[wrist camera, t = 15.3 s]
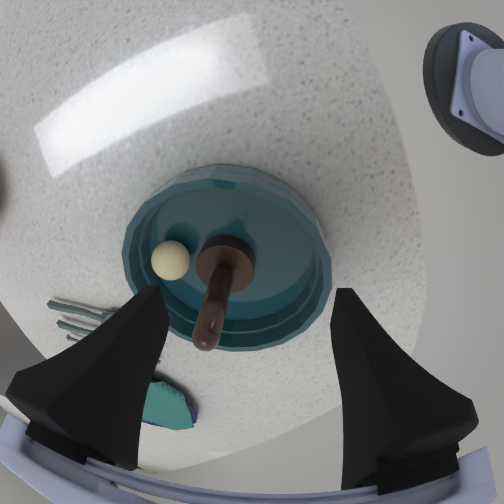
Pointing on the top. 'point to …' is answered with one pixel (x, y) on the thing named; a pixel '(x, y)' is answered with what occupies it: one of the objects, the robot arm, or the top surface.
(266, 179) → the bowl
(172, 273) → the dough ball
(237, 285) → the wooden pestle
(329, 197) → the top surface
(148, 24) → the top surface
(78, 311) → the cutlery set
